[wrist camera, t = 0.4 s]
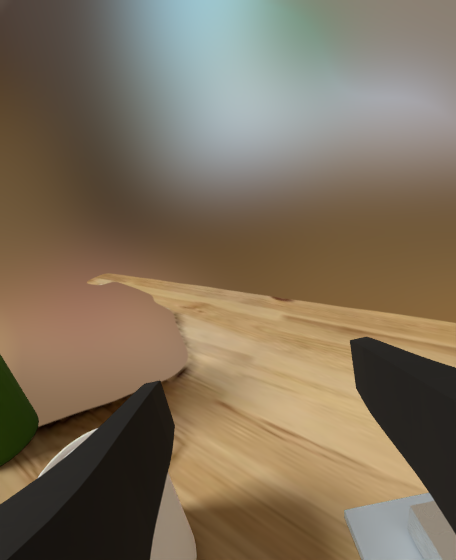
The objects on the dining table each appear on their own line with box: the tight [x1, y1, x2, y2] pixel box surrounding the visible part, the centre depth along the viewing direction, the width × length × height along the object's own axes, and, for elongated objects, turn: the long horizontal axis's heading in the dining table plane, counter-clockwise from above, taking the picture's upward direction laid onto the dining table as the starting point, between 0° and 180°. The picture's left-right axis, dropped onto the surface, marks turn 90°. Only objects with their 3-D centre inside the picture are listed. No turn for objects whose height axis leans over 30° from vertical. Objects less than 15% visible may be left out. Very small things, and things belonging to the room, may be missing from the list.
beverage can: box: [38, 428, 197, 560], centre depth 19 cm, size 8×8×12 cm
